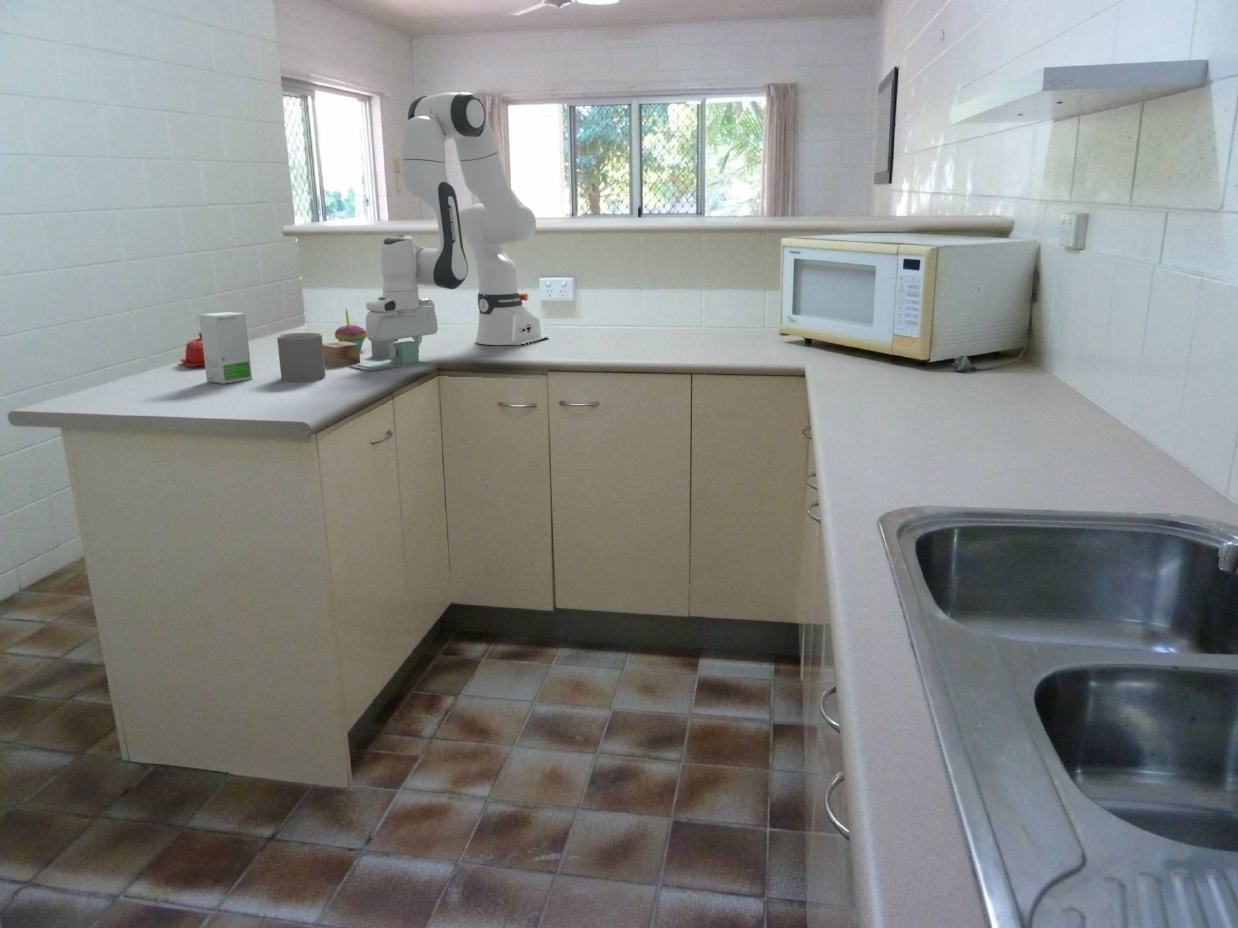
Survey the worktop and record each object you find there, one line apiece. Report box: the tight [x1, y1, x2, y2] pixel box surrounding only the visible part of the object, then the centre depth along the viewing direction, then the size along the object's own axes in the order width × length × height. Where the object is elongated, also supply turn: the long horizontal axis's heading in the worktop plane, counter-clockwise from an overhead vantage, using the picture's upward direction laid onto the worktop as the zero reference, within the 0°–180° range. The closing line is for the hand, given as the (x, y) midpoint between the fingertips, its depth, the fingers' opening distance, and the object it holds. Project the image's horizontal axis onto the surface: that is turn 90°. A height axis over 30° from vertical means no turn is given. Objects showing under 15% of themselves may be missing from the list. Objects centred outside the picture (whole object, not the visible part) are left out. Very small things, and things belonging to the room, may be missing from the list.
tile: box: [348, 360, 402, 373], centre depth 234 cm, size 9×9×1 cm
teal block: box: [390, 339, 420, 365], centre depth 242 cm, size 5×5×5 cm
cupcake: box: [334, 308, 367, 352], centre depth 257 cm, size 9×8×12 cm
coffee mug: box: [277, 332, 326, 383], centre depth 222 cm, size 13×10×10 cm
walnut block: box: [323, 341, 361, 367], centre depth 240 cm, size 7×7×5 cm
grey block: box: [370, 339, 399, 359], centre depth 250 cm, size 5×5×5 cm
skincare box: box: [198, 311, 253, 384], centre depth 216 cm, size 8×7×16 cm
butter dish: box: [179, 331, 205, 368], centre depth 238 cm, size 12×12×8 cm
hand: (404, 355), depth 242 cm, fingers closed on teal block, 5 cm apart
